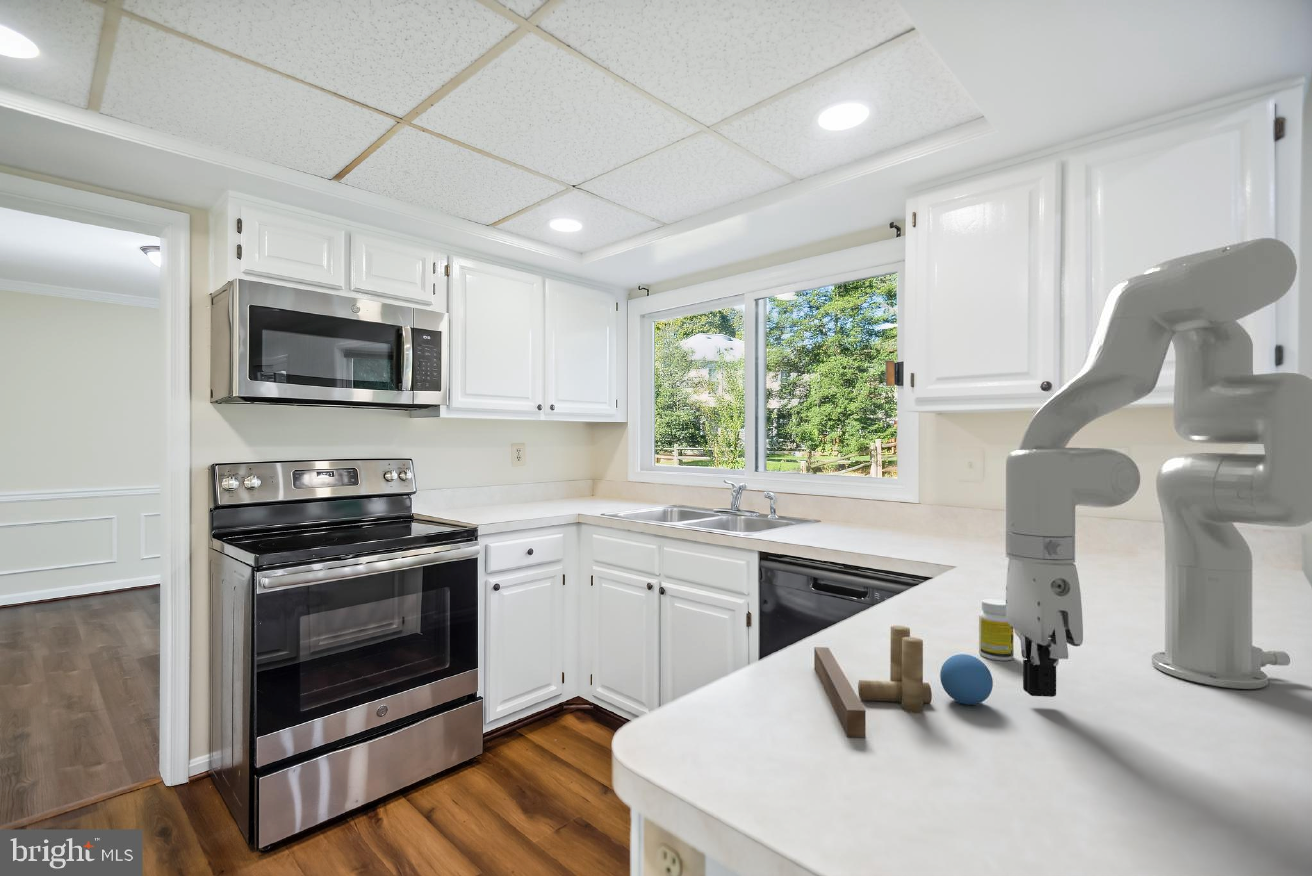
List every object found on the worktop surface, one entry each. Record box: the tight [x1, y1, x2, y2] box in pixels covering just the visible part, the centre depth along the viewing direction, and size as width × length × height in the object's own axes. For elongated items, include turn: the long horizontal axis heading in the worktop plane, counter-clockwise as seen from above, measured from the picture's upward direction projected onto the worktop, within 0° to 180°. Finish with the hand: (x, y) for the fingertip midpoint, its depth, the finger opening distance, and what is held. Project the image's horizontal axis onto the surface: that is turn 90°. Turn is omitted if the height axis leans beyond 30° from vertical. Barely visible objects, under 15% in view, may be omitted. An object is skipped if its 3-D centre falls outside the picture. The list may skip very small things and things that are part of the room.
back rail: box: [813, 646, 867, 739], centre depth 82 cm, size 2×22×3 cm, turn 175°
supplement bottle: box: [978, 598, 1015, 662], centre depth 99 cm, size 5×5×8 cm
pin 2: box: [901, 636, 924, 714], centre depth 79 cm, size 2×2×8 cm
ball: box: [939, 653, 994, 706], centre depth 81 cm, size 6×6×6 cm
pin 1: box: [889, 625, 911, 682], centre depth 84 cm, size 2×2×8 cm
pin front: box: [857, 679, 933, 704], centre depth 82 cm, size 2×2×8 cm
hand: (1039, 693), depth 80 cm, fingers closed
